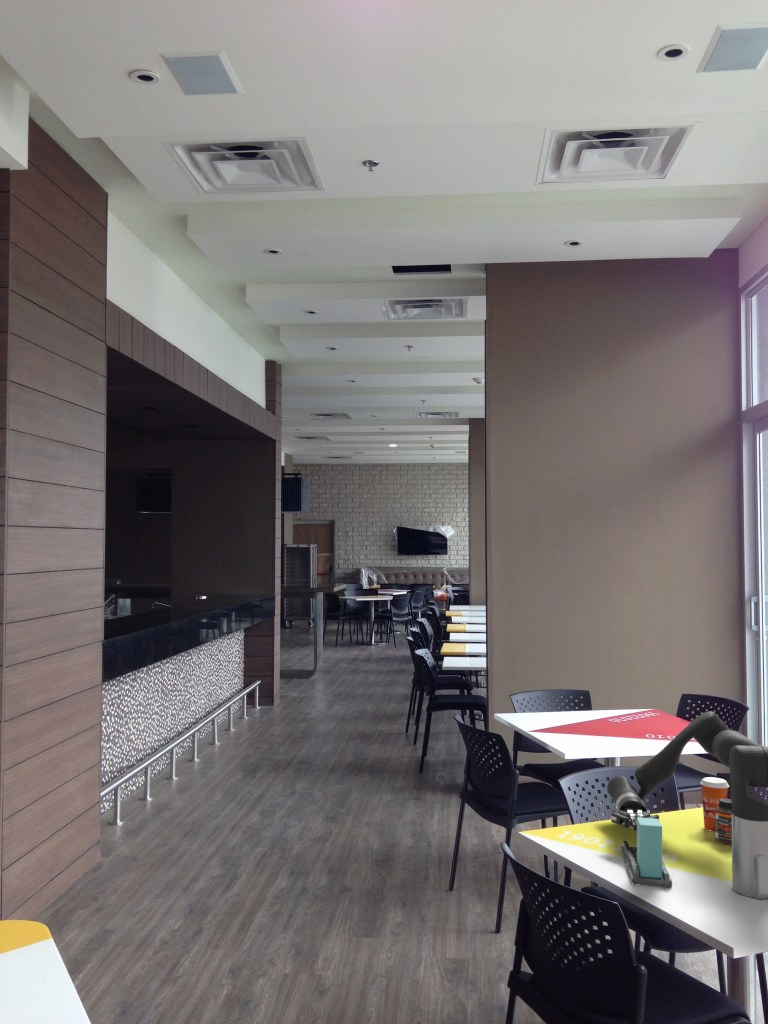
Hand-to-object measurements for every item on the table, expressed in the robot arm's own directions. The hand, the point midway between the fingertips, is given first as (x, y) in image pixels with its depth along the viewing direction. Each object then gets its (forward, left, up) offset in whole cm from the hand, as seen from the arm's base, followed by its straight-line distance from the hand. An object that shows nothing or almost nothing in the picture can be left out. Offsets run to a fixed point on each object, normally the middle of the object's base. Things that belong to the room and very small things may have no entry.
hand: (639, 828), depth 211 cm
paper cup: (+15, -38, -8) cm, 42 cm away
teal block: (-11, +6, -7) cm, 14 cm away
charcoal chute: (-5, +2, -8) cm, 10 cm away
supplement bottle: (+5, -33, -8) cm, 35 cm away
